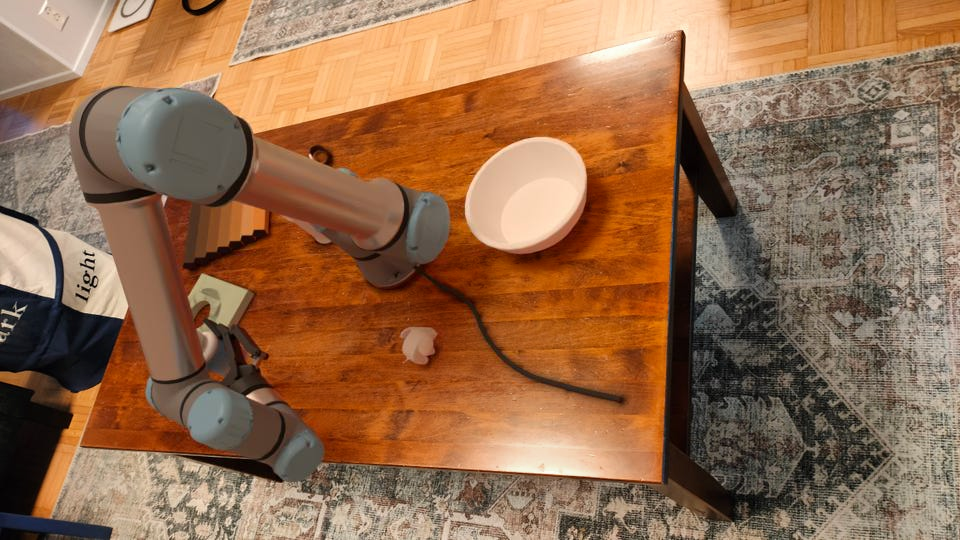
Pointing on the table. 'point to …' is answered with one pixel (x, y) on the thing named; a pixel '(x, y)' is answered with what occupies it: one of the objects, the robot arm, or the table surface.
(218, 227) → the pan flute
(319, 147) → the watch
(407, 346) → the elephant figurine
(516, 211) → the bowl
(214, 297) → the mounting pad
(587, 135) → the table surface
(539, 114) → the table surface
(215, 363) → the pill bottle
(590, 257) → the table surface
